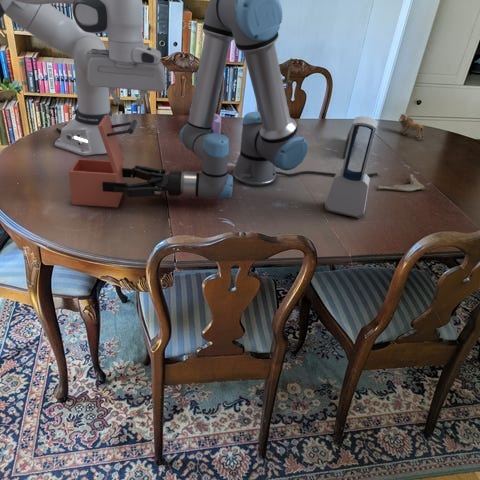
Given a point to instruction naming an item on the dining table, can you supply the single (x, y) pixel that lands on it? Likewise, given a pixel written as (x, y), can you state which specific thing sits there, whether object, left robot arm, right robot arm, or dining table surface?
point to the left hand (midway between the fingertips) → (128, 104)
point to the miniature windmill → (286, 79)
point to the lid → (114, 140)
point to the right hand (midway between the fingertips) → (106, 178)
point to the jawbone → (405, 186)
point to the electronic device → (352, 178)
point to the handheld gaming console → (348, 141)
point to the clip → (216, 124)
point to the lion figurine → (410, 125)
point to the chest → (94, 183)
